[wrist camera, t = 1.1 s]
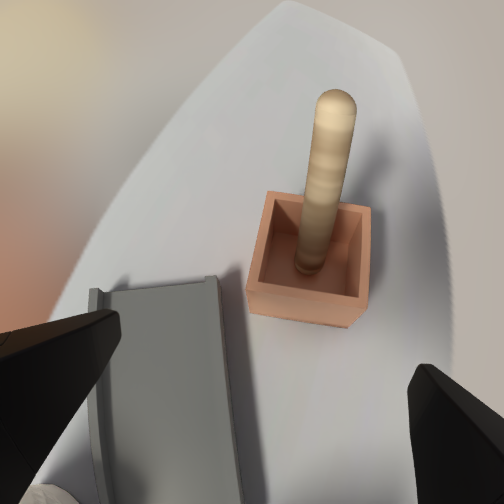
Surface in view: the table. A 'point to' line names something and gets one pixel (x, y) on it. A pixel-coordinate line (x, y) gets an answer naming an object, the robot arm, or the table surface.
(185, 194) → the table surface
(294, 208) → the terracotta box
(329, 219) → the birch dowel
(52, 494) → the white cup
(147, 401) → the slate tray
